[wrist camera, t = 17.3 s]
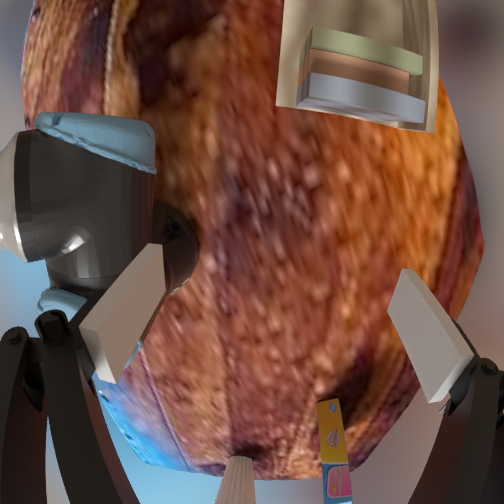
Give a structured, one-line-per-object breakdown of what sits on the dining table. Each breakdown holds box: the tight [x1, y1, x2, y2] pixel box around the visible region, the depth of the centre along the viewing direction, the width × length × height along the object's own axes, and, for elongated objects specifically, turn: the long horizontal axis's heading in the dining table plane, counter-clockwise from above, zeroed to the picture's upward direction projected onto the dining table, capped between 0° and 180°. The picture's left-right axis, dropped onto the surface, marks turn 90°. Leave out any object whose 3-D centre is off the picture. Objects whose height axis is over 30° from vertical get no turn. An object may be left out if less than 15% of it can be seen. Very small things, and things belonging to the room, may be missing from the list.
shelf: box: [276, 0, 439, 134], centre depth 20 cm, size 18×30×14 cm, turn 175°
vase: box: [215, 456, 256, 504], centre depth 65 cm, size 13×13×26 cm
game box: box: [316, 398, 353, 504], centre depth 50 cm, size 21×6×27 cm, turn 17°
